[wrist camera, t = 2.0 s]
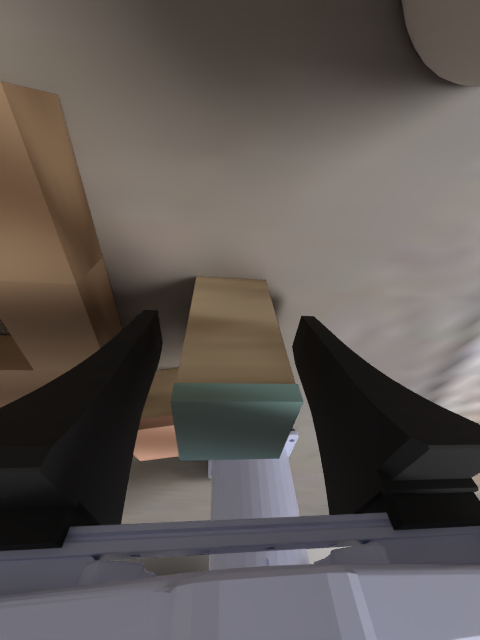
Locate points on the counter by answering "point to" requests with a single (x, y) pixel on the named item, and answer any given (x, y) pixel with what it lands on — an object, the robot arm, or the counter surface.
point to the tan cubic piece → (158, 420)
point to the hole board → (46, 249)
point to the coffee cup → (446, 37)
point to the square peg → (233, 375)
